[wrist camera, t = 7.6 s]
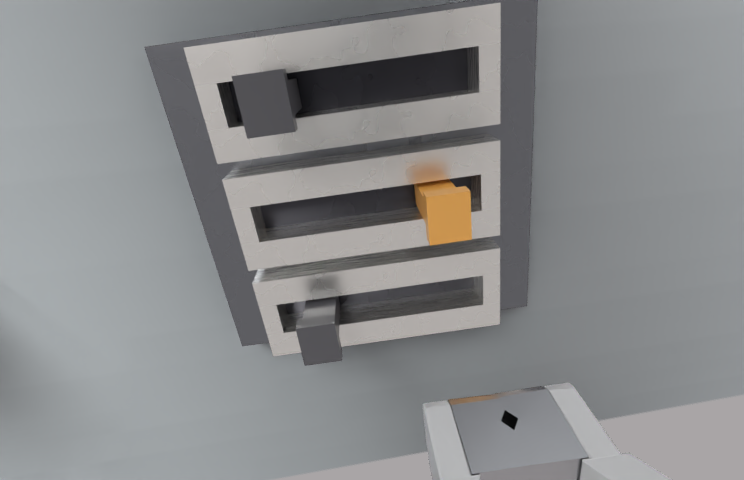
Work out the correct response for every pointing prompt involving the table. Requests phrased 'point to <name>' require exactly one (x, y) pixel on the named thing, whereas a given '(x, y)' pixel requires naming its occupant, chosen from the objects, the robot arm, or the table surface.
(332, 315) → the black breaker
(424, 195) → the orange breaker
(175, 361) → the table surface
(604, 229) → the table surface
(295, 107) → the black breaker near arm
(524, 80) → the breaker board
